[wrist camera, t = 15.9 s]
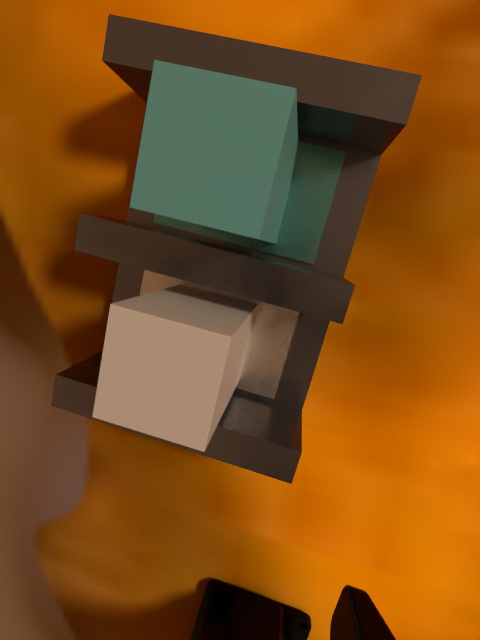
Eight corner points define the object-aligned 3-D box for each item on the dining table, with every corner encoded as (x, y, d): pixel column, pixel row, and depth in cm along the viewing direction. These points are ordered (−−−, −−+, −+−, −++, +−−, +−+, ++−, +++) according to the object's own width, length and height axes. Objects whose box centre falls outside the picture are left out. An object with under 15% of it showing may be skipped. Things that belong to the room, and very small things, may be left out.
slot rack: (287, 447, 20) (283, 509, 16) (104, 389, 22) (47, 430, 17) (396, 96, 17) (435, 32, 12) (165, 49, 18) (114, -27, 13)
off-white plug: (257, 304, 18) (231, 337, 11) (239, 379, 19) (204, 451, 12) (180, 284, 19) (110, 303, 12) (165, 358, 19) (92, 417, 13)
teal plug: (298, 154, 17) (296, 87, 10) (275, 243, 17) (258, 239, 11) (213, 135, 17) (154, 59, 10) (195, 223, 18) (129, 207, 11)
